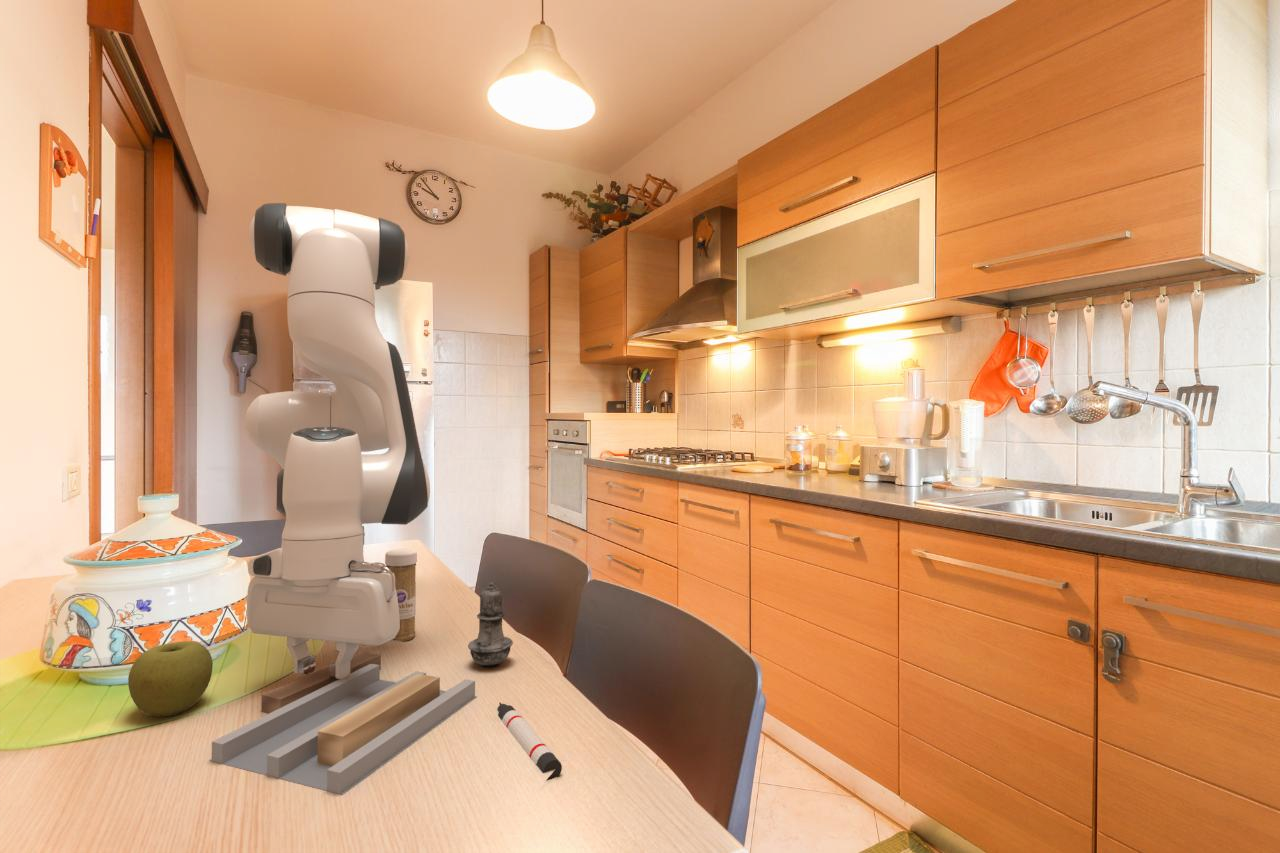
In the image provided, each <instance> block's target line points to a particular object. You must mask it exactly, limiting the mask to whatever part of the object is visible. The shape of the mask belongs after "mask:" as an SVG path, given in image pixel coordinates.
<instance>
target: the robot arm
mask: <svg viewBox="0 0 1280 853" xmlns="http://www.w3.org/2000/svg"><path fill="white" fill-rule="evenodd" d="M251 219H252V220H251V221H250V224H249V230H248V240H249V245H250V249H251V252H252V253H253V254H254V256H255V260H256V262H257V263H258V264H259V265H260V266H261V267H262V268H263V269H265V270H266V271H268V272H271V273H275V274H277V275H281V276H285V277H286V276H287V274H288V275H289V277H288V286H287V300H286V302H287V303H286V304H287V306H286V309H287V312H286V313H287V314H286V315H287V327H288V333H289V338H290V340H291V341H292V343H293V344H294V352H295V356H296V358H297V360H298V361H299V363H300V364H301V365H302V366H303V367H305V368H306V369H307V370H309V371H311V372H312V373H315V374H316V375H318V376H321V377H323V378H325V379H327V380H329V382H331V383H332V385H334V387H335V390H333V391H330V392H328V391H326V392H325V391H324V392H322V391H298V390H297V391H295V390H290V391H289V390H288V391H279V392H271V393H263V394H260V395H259V396H257V397H256V398H254V399H253V401H251V403H250V404H249V406H248V408H247V410H246V413H245V415H244V416H245V418H244V427H245V431H246V434H247V436H248V438H249V439H250V441H251V442H252V443H253V445H255V446H256V447H258V449H260V450H262V451H264V452H265V453H266V454H268V455H269V456H270V457H271V458H273V459H274V460H275V462H276V463H277V464H279V466H280V468H281V470H280V471H279V472H278V473H277V476H276V511H278V512H279V513H280V514H281V515H283V516H284V517H285V522H284V523H285V524H284V527H283V529H282V533H281V546H280V547H278V548H275V549H273V550H270V551H267V552H265V553H262V554H260V555H256V556H253V557H251V558H250V559H249V560H248V562H247V572H248V574H249V576H251V577H252V578H251V579H250V582H249V584H248V587H247V594H246V596H247V597H246V599H247V611H246V623H247V625H248V627H249V628H250V630H251V632H252V633H253V634H258V635H267V636H276V637H277V636H278V637H286V646H287V649H288V652H289V653H290V655H291V657H292V659H293V660H294V666H293V671H294V674H296V675H304V676H307V675H309V674H312V673H314V672H315V670H316V666H317V665H316V662H317V658H316V656H315V655H311V652H310V650H309V646H308V643H307V642H309V641H310V640H312V641H313V640H315V641H322V642H323V641H324V642H333V643H335V646H336V647H335V650H336V651H337V652H339V654H338V656H337V657H336V660H335V662H331V663H329V664H328V666H329V670H330V673H329V677H330V678H334V679H343V678H345V677H347V676H349V674H350V661H351V660H352V658H353V656H355V655H356V653H357V651H358V648H359V646H360V645H363V646H370V647H378V646H380V645H383V644H385V643H388V642H389V641H393V640H392V639H394V638H395V636H396V635H397V633H398V632H399V629H400V618H399V607H398V599H397V593H396V588H395V576H394V574H393V573H392V572H391V570H390V569H389V568H387V567H386V564H385V563H382V562H368V561H365V559H364V546H365V537H366V534H365V533H366V532H365V527H364V525H366V524H367V525H368V524H381V525H400V526H401V525H402V526H403V525H404V526H406V525H408V524H409V523H411V522H412V521H414V520H415V519H417V518H418V517H419V516H420V515H421V514H422V513H423V512H424V511H425V510H426V509H427V508H428V506H429V500H430V496H431V495H430V494H431V484H430V479H429V474H428V470H427V468H426V466H425V463H424V460H423V457H422V453H421V452H422V451H421V448H420V443H419V438H418V434H417V427H416V422H415V417H414V412H413V406H412V401H411V396H410V390H409V385H408V381H407V376H406V372H405V367H404V364H403V361H402V357H401V354H400V351H399V350H398V348H397V347H396V345H394V344H393V343H391V342H390V341H388V340H386V339H385V337H384V336H383V335H382V332H381V331H380V328H379V327H378V323H377V319H376V310H375V308H376V304H375V302H376V300H375V291H377V290H380V289H381V288H382V287H386V286H391V285H395V284H396V283H397V282H399V281H400V280H401V279H402V278H403V277H404V276H403V275H404V273H405V271H406V270H407V267H408V264H409V260H410V248H409V245H408V242H407V241H408V240H407V239H406V236H405V232H404V231H403V229H402V227H401V226H400V225H399V224H397V223H395V222H393V221H390V220H387V219H386V218H383V217H382V218H381V217H378V218H374V217H372V216H367V215H364V214H360V213H357V212H351V211H347V210H342V209H338V208H334V209H328V208H323V207H314V206H313V207H312V206H304V205H302V206H301V205H288V204H287V203H285V202H273V203H271V202H269V203H263V204H262V205H261V206H260V207H258V208H257V209H256V210H255V213H254V216H253V217H252V218H251ZM386 449H387V451H385V452H384V453H379V454H378V453H377V454H362V452H363V453H368V452H375V451H380V450H386Z"/></svg>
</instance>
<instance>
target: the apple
mask: <svg viewBox="0 0 1280 853" xmlns="http://www.w3.org/2000/svg"><path fill="white" fill-rule="evenodd" d="M213 664H214V662H213V657H212V655H211V653H210V651H209V649H207V647H206V646H204V644H202V643H199V642H196V641H192V640H187V641H186V640H183V641H177V642H170V643H164V644H163V643H162V644H159V645H156V646H153V647H152V648H149V649H147V650H146V651H144V652H142V653H141V654H140V655H139V656H138V657H137V658H136V660H134V662H133V664H132V666H131V668H130V670H129V673H128V680H127V681H128V684H127V685H128V690H129V694H130V697H131V699H132V701H133V703H134V705H135V706H136V708H138V710H140V711H141V712H142V713H143V714H145V715H148V716H150V717H151V716H152V717H171V716H174V715H178V714H180V713H182V712H185V711H186V710H188V709H190V708H191V707H192V706H194V705H195V704H196V703H197V701H199V700H200V699H201V697H203V695H204V694H205V691H206V690H207V689H208V688H209V685H210V684H209V683H210V682H211V678H212V674H213V668H214V667H213Z"/></svg>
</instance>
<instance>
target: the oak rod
mask: <svg viewBox="0 0 1280 853" xmlns="http://www.w3.org/2000/svg"><path fill="white" fill-rule="evenodd" d="M440 684H441V677H440V676H433V675H428V674H426V675H422V674H417V675H415V676H414V677H412V678H410V679H408V680H407V681H405V682H403V683H401V684H400V685H398V686H396V687H394V688H393V689H391V690H389V691H387V692H386V693H384V694H382V695H380V696H379V697H377V698H375V699H373V700H372V701H370V702H368V703H366V704H365V705H363V706H361V707H359V708H358V709H356V710H354V711H352V712H351V713H349V714H347V715H345V716H344V717H342V718H340V719H338V720H337V721H335V722H333V723H331V724H329V725H328V726H326V727H324V728H322V729H321V730H319V731H318V758H317V763H319V764H323V765H327V766H331V767H332V766H334V765H335V764H337V763H338V762H340V761H341V760H343V759H344V758H346V757H347V756H349V755H350V754H352V753H353V752H355V751H356V750H358V749H360V748H361V747H363V746H364V745H366V744H367V743H369V742H370V741H372V740H373V739H375V738H376V737H378V736H379V735H381V734H382V733H384V732H385V731H387V730H388V729H390V728H392V727H393V726H395V725H396V724H398V723H399V722H401V721H402V720H404V719H405V718H407V717H408V716H410V715H411V714H413V713H414V712H416V711H417V710H419V709H420V708H422V707H424V706H425V705H427V704H428V703H430V702H431V701H433V700H434V699H436V698H437V697H439V696H440V690H441V685H440Z"/></svg>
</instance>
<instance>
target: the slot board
mask: <svg viewBox="0 0 1280 853" xmlns="http://www.w3.org/2000/svg"><path fill="white" fill-rule="evenodd" d="M380 671H381V670H380V665H376V664H369V665H367V666H365V667H363V668H361V669H359V670H357V671H355V672H353V673H351V674H349V676H347V677H345V678H343V679H339V680H337V681H334V682H332V683H330V684H328V685H326V686H324V687H322V688H320V689H318V690H316V691H314V692H312V693H310V694H308V695H306V696H304V697H302V698H300V699H298V700H296V701H294V702H292V703H290V704H288V705H286V706H284V707H282V708H279V709H277V710H275V711H273V712H271V713H269V714H268V713H266V715H263V716H262V717H259V718H257V719H255V720H253V721H251V722H250V723H247V724H245V725H243V726H240V727H239V728H237V729H235V730H233V731H231V732H229V733H227V734H225V735H223V736H221V737H219V738H217V739H214V740H212V741H211V759H209V760H208V761H209V762H212V763H216V764H219V765H224V766H227V767H232V768H235V769H239V770H244V771H247V772H252V773H255V774H259V775H264V776H267V777H270V778H274V779H278V780H283V781H286V782H290V783H294V784H298V785H302V786H306V787H308V788H309V787H310V788H312V789H313V788H314V789H316V790H321V791H324V792H327V793H328V792H329V793H332V794H337V795H340V796H343V795H344V794H346V793H347V792H349V791H350V790H351V789H353V788H355V787H356V786H357V785H358V784H360V783H361V782H362V781H364V780H365V779H367V778H368V777H369V776H371V775H372V774H373V773H375V772H376V771H377V770H379V769H380V768H382V767H383V766H384V765H385V764H387V763H389V762H390V761H391V760H393V759H394V758H395V757H397V756H399V754H401V753H402V752H404V751H405V750H406V749H408V748H409V747H411V746H412V745H413V744H415V743H416V742H417V741H418V740H421V738H424V736H425V735H427V734H428V733H430V732H431V731H433V730H434V729H435V728H436V727H437V728H438V726H439V725H441V724H443V723H444V721H446V720H448V719H449V718H450V717H452V716H453V715H455V714H456V713H457V712H458V711H460V710H461V709H463V708H464V707H465V706H467V705H468V704H470V703H471V702H472V701H474V700H475V699H476V698H478V696H477V695H476V680H474V679H473V680H471V679H466V678H465V679H463V680H461V681H460V682H459V683H457V684H456V685H454V686H453V687H451V688H450V689H447V690H442V689H440V696H439V697H437V698H436V699H434V700H433V701H431V702H430V703H428V704H427V705H425V706H424V707H422V708H420V709H419V710H417V711H416V712H414V713H413V714H411V715H410V716H408V717H407V718H405V719H404V720H402V721H401V722H399V723H398V724H396V725H395V726H393V727H392V728H390V729H388V730H387V731H385V732H384V733H382V734H381V735H379V736H378V737H376V738H375V739H373V740H372V741H370V742H369V743H367V744H366V745H364V746H363V747H361V748H360V749H358V750H356V751H355V752H353V753H352V754H350V755H349V756H347V757H346V758H344V759H343V760H341V761H340V762H338V763H337V764H335V765H334V766H332V767H331V766H327V765H323V764H319V763H317V758H318V731H319V730H321V729H322V728H324V727H326V726H328V725H329V724H331V723H333V722H335V721H337V720H338V719H340V718H342V717H344V716H345V715H347V714H349V713H351V712H352V711H354V710H356V709H358V708H359V707H361V706H363V705H365V704H366V703H368V702H370V701H372V700H373V699H375V698H377V697H379V696H380V695H382V694H384V693H386V692H387V691H389V690H391V689H393V688H394V687H396V686H398V685H400V684H401V683H403V682H405V681H407V680H408V679H410V678H412V677H414V676H415V675H417V674H422V675H427V672H423V671H418V670H417V671H415V672H413V673H410V674H409V675H407V676H405V677H403V678H402V679H400V680H398V681H396V682H395V681H390V680H383V679H381V678H380Z"/></svg>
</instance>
